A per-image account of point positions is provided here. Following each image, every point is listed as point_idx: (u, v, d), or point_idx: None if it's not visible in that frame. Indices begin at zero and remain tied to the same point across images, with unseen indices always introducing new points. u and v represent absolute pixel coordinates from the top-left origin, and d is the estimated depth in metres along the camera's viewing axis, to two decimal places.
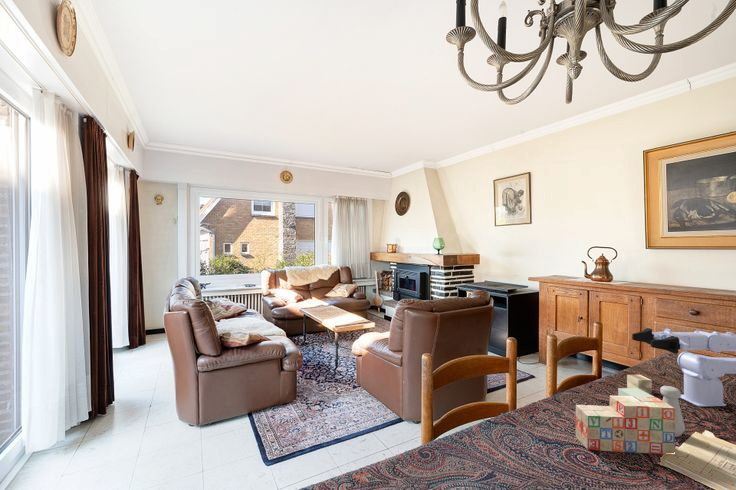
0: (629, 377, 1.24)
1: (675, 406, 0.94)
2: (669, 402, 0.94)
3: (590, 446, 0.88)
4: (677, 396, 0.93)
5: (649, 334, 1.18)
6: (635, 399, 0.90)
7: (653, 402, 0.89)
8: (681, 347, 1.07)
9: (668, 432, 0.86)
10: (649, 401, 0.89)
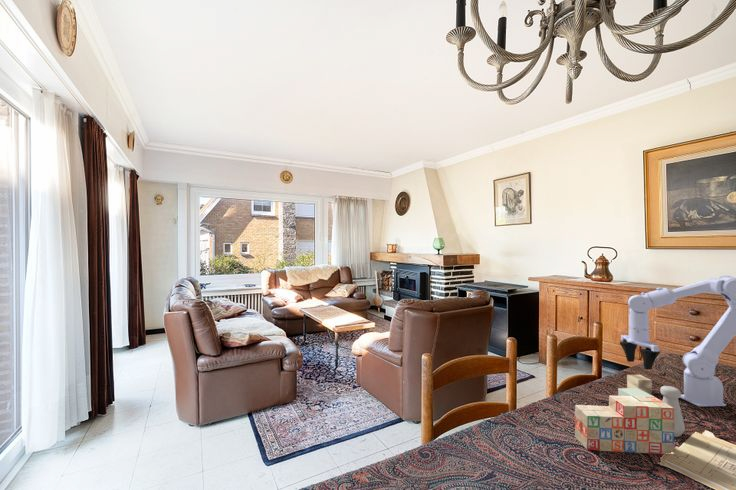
0: (629, 377, 1.24)
1: (675, 406, 0.94)
2: (669, 402, 0.94)
3: (590, 446, 0.88)
4: (677, 396, 0.93)
5: (628, 346, 1.26)
6: (634, 399, 0.90)
7: (652, 402, 0.89)
8: None
9: (667, 432, 0.86)
10: (648, 401, 0.89)
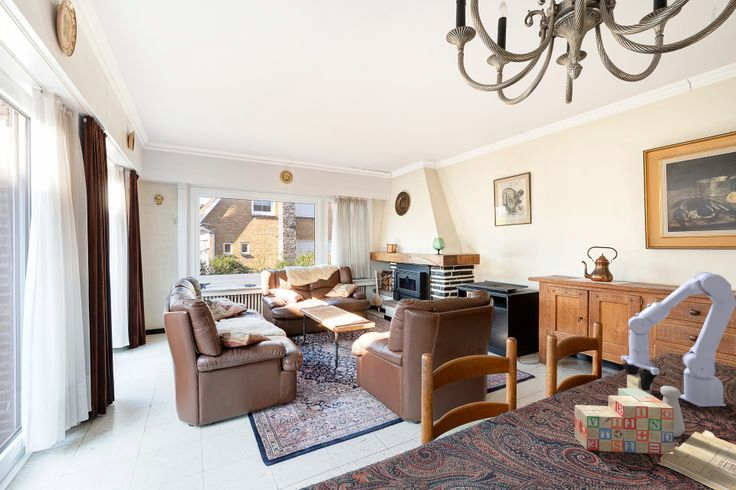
0: (629, 377, 1.24)
1: (675, 406, 0.94)
2: (669, 402, 0.94)
3: (589, 446, 0.88)
4: (677, 396, 0.93)
5: (630, 368, 1.25)
6: (634, 399, 0.90)
7: (652, 402, 0.89)
8: None
9: (667, 432, 0.86)
10: (648, 401, 0.89)
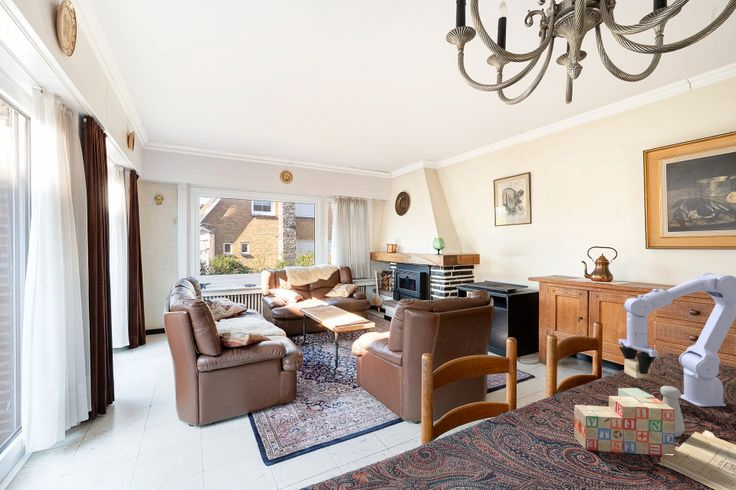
0: (626, 361, 1.20)
1: (675, 406, 0.94)
2: (669, 402, 0.94)
3: (588, 446, 0.88)
4: (677, 396, 0.93)
5: (628, 351, 1.21)
6: (634, 400, 0.90)
7: (653, 403, 0.88)
8: None
9: (668, 433, 0.85)
10: (649, 402, 0.89)
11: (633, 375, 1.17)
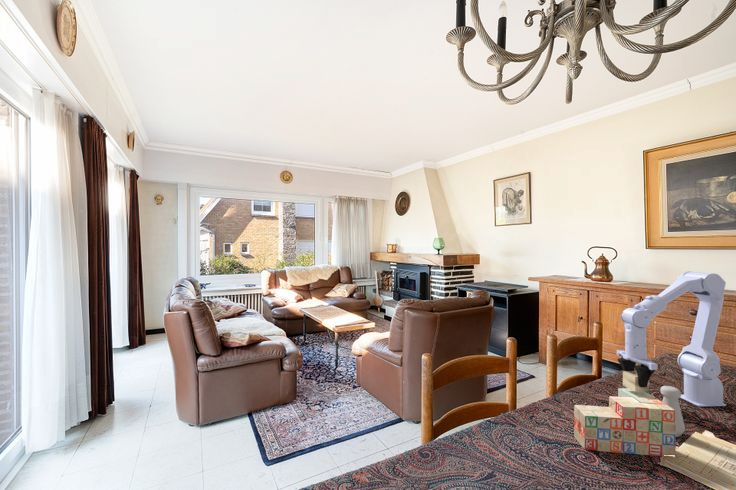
0: (625, 374, 1.16)
1: (675, 406, 0.94)
2: (669, 402, 0.94)
3: (587, 446, 0.88)
4: (677, 396, 0.93)
5: (626, 363, 1.17)
6: (635, 400, 0.90)
7: (653, 404, 0.88)
8: None
9: (668, 434, 0.85)
10: (649, 403, 0.88)
11: (632, 388, 1.13)
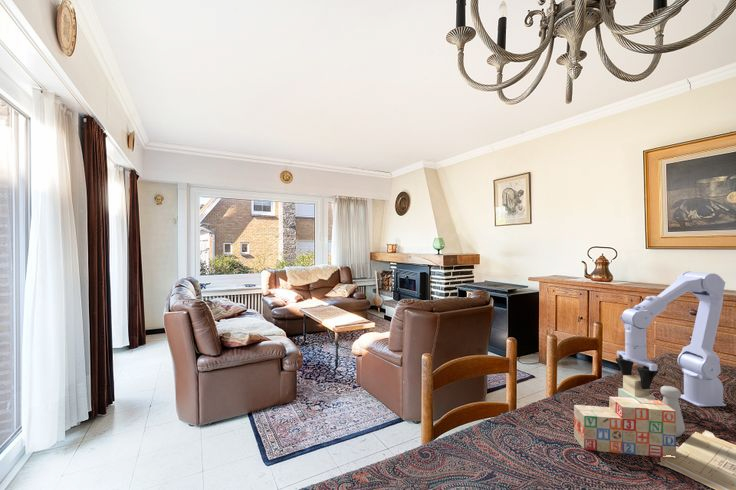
0: (625, 378, 1.16)
1: (675, 406, 0.94)
2: (669, 402, 0.94)
3: (587, 446, 0.88)
4: (677, 396, 0.93)
5: (624, 363, 1.18)
6: (635, 401, 0.89)
7: (654, 404, 0.87)
8: None
9: (668, 435, 0.84)
10: (650, 403, 0.88)
11: (632, 393, 1.13)
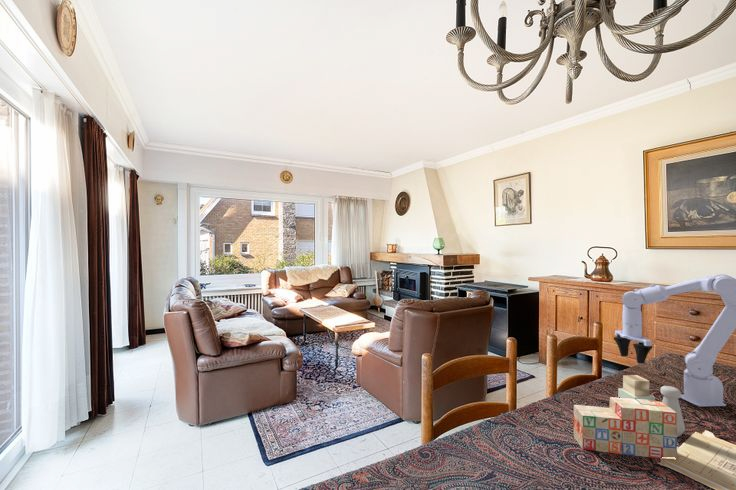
0: (625, 378, 1.16)
1: (675, 406, 0.94)
2: (669, 402, 0.94)
3: (585, 446, 0.88)
4: (677, 396, 0.93)
5: (621, 341, 1.29)
6: (636, 402, 0.89)
7: (655, 406, 0.87)
8: None
9: (669, 437, 0.84)
10: (651, 404, 0.87)
11: (632, 393, 1.13)
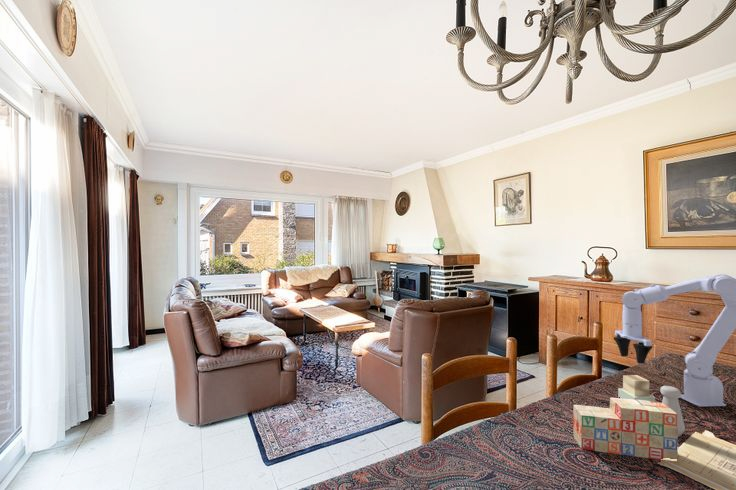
0: (625, 378, 1.16)
1: (675, 406, 0.94)
2: (669, 402, 0.94)
3: (584, 446, 0.88)
4: (677, 396, 0.93)
5: (621, 341, 1.29)
6: (636, 402, 0.88)
7: (655, 407, 0.86)
8: None
9: (670, 438, 0.83)
10: (651, 405, 0.87)
11: (632, 393, 1.13)
